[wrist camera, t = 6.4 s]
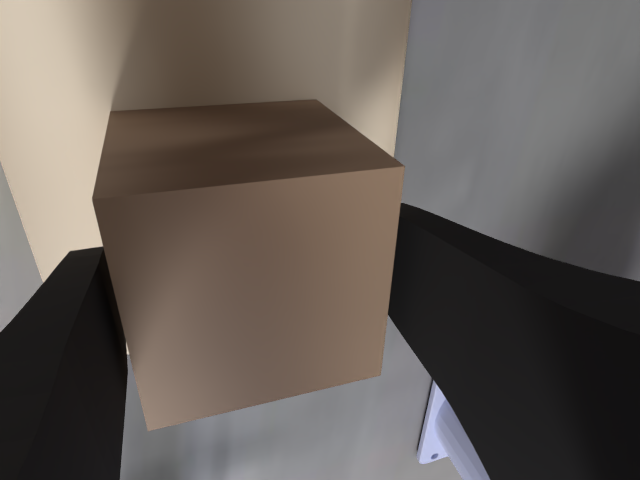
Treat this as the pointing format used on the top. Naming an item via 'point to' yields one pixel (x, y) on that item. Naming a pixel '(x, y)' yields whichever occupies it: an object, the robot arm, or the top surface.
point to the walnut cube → (246, 252)
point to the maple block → (173, 83)
